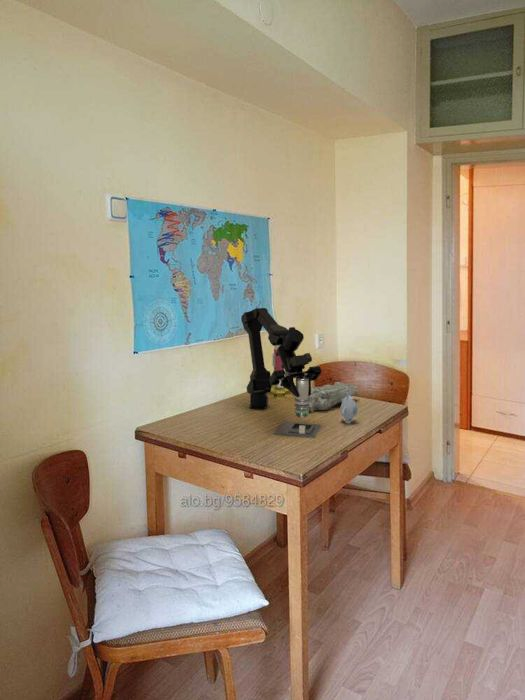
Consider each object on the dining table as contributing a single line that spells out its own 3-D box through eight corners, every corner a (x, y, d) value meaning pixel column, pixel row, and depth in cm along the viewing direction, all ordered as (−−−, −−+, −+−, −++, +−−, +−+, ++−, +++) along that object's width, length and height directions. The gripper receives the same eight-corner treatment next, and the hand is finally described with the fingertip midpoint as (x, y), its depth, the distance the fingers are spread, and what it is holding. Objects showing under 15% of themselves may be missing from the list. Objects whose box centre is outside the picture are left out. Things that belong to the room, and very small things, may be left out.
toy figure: (349, 427, 191) (350, 395, 189) (334, 424, 194) (334, 392, 192) (362, 420, 199) (363, 389, 197) (347, 417, 203) (348, 387, 201)
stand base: (274, 434, 184) (274, 424, 183) (283, 423, 195) (283, 414, 195) (314, 438, 180) (314, 428, 179) (321, 427, 191) (321, 417, 191)
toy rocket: (290, 392, 241) (291, 326, 236) (294, 399, 230) (294, 330, 224) (264, 392, 241) (264, 327, 235) (266, 399, 229) (266, 330, 224)
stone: (367, 375, 221) (315, 397, 203) (367, 399, 224) (317, 422, 206) (344, 369, 230) (294, 389, 212) (345, 392, 233) (295, 413, 215)
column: (292, 416, 183) (293, 379, 181) (296, 412, 188) (296, 376, 186) (307, 418, 181) (308, 380, 179) (310, 413, 186) (311, 377, 184)
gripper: (272, 347, 180) (288, 386, 172) (319, 343, 188) (336, 380, 180) (262, 366, 188) (277, 403, 180) (308, 361, 196) (323, 397, 189)
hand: (304, 395), depth 182 cm, fingers closed on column, 4 cm apart
